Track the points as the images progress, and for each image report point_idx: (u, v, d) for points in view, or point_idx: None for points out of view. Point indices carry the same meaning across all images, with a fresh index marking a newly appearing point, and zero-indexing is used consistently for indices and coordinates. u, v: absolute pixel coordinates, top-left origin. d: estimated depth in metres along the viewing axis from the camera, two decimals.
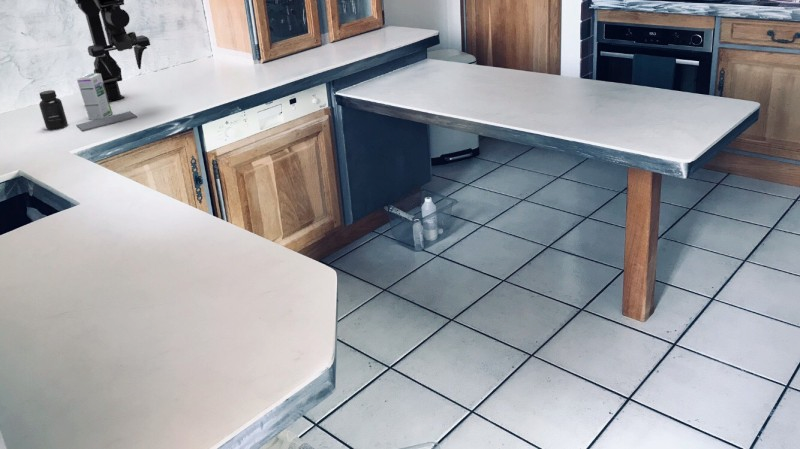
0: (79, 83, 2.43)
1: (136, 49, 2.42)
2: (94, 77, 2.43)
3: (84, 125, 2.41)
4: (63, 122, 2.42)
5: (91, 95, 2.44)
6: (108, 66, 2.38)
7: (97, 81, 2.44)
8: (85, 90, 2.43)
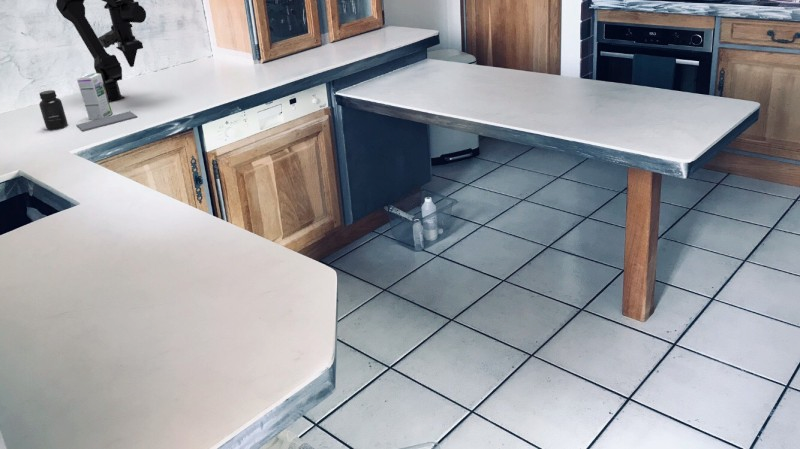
0: (79, 83, 2.43)
1: None
2: (94, 77, 2.43)
3: (84, 125, 2.41)
4: (63, 122, 2.42)
5: (91, 95, 2.44)
6: None
7: (97, 81, 2.44)
8: (85, 90, 2.43)
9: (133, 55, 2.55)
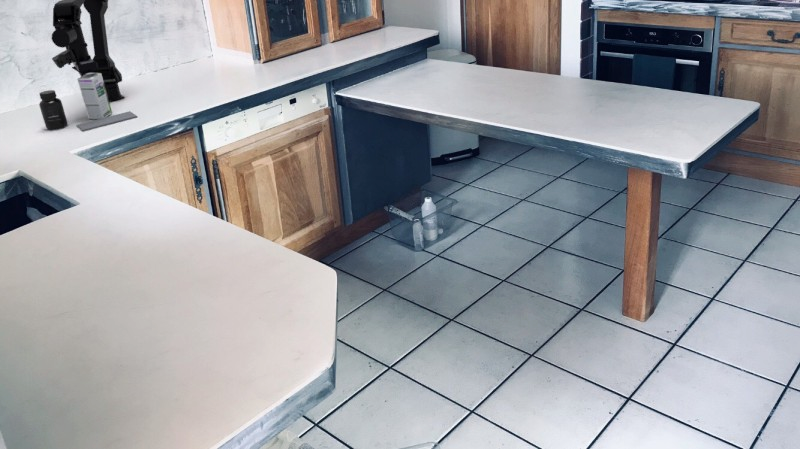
0: (80, 83, 2.42)
1: None
2: (95, 77, 2.42)
3: (84, 125, 2.41)
4: (63, 122, 2.42)
5: (91, 95, 2.43)
6: None
7: (98, 81, 2.43)
8: (85, 90, 2.43)
9: None
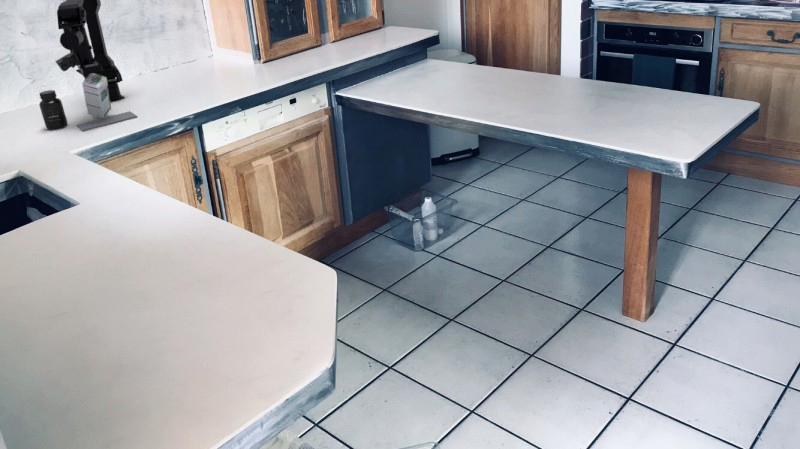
0: (84, 87, 2.37)
1: None
2: (101, 85, 2.38)
3: (84, 125, 2.41)
4: (63, 122, 2.42)
5: (95, 99, 2.41)
6: None
7: (103, 87, 2.39)
8: (89, 94, 2.39)
9: None
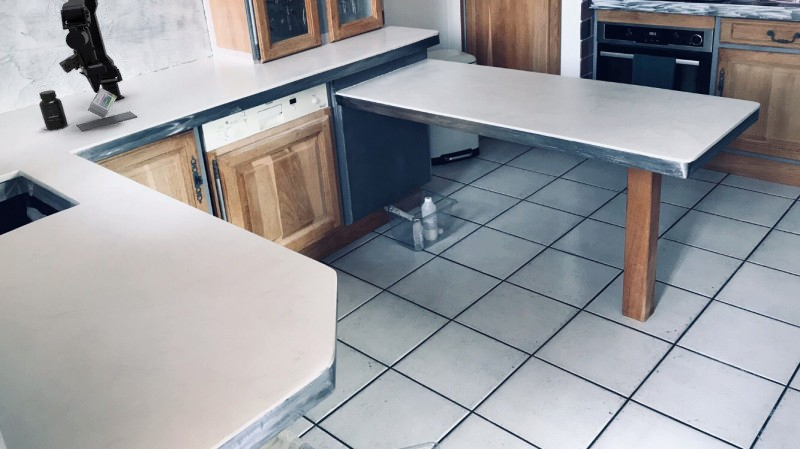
0: (93, 104, 2.34)
1: None
2: (111, 106, 2.36)
3: (84, 125, 2.41)
4: (63, 122, 2.42)
5: (101, 111, 2.39)
6: None
7: None
8: (96, 108, 2.37)
9: (98, 80, 2.39)
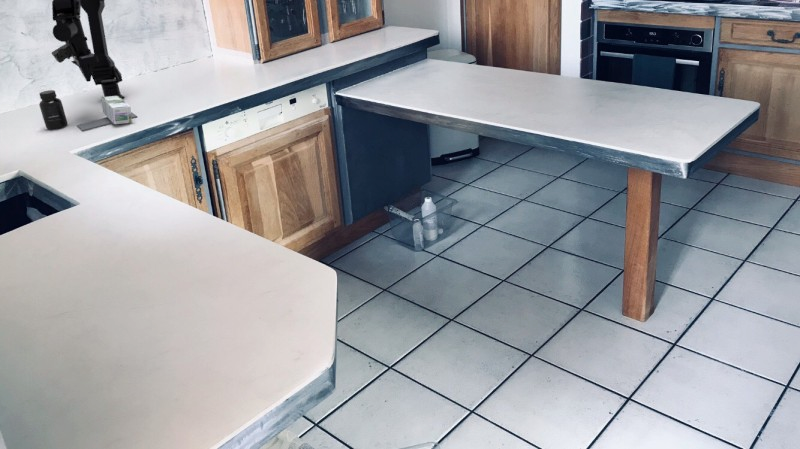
0: (111, 108, 2.36)
1: None
2: None
3: (84, 125, 2.41)
4: (63, 122, 2.42)
5: (108, 114, 2.40)
6: None
7: None
8: (109, 110, 2.38)
9: (89, 69, 2.45)
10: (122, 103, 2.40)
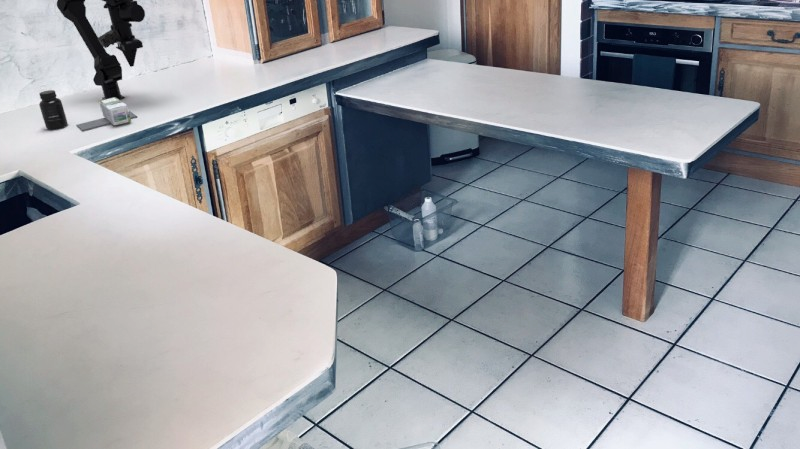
0: (108, 110, 2.36)
1: None
2: (119, 123, 2.38)
3: (84, 125, 2.41)
4: (63, 122, 2.42)
5: (108, 116, 2.41)
6: (125, 57, 2.55)
7: None
8: (108, 112, 2.39)
9: (133, 55, 2.54)
10: (119, 103, 2.39)
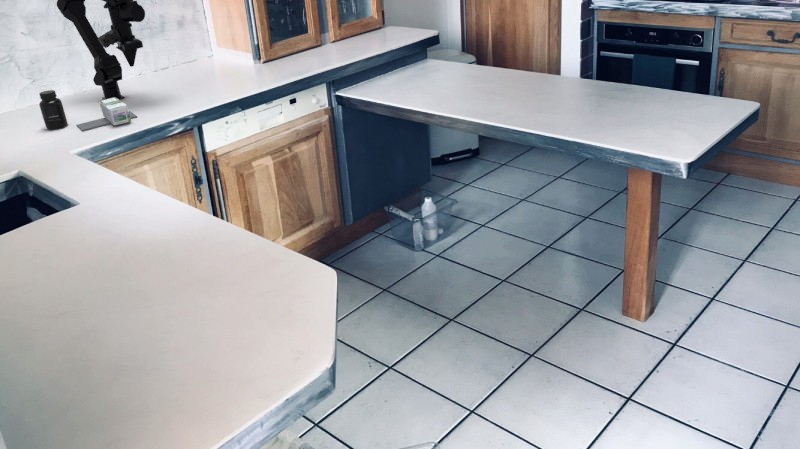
0: (108, 110, 2.36)
1: None
2: (119, 123, 2.38)
3: (84, 125, 2.41)
4: (63, 122, 2.42)
5: (108, 116, 2.41)
6: (125, 57, 2.55)
7: None
8: (108, 112, 2.39)
9: (133, 55, 2.54)
10: (119, 103, 2.39)
